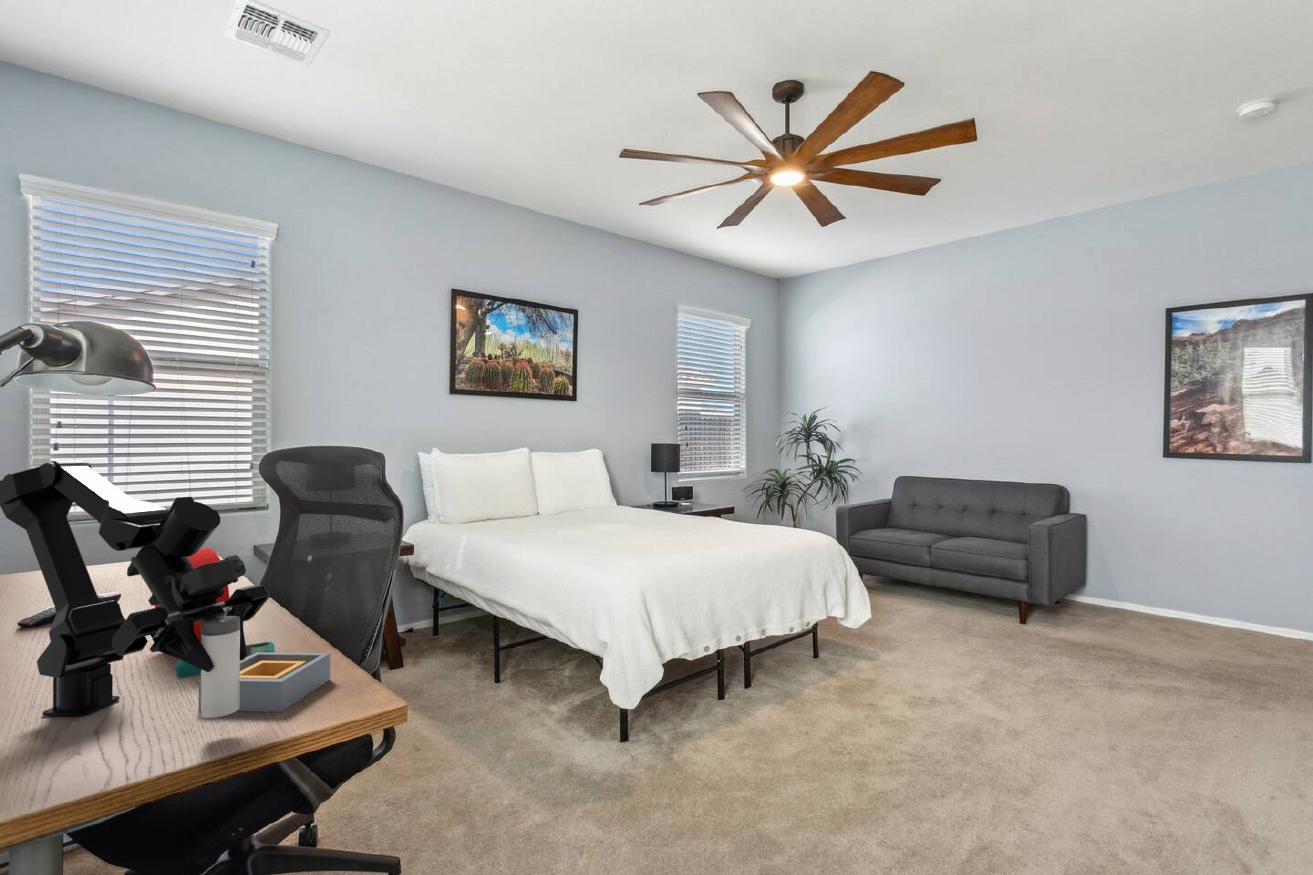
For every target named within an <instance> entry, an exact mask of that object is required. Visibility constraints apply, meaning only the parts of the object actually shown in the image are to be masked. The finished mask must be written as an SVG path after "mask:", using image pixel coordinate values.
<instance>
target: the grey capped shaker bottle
mask: <svg viewBox="0 0 1313 875" xmlns="http://www.w3.org/2000/svg"><path fill="white" fill-rule="evenodd" d="M201 644H202V645H203V647H204V649H205V650H206V652H207V653H208V655H209V656H210V658H211V661H212V663H213V665H214V668H213V669H212V670H211V671H210V672H206V671H204V670H202V669H201V674H200V679H201V710H200V716H201V717H202V718H207V719H212V718H213V719H214V718H219V717H220V718H221V717H224V716H228V715H231V714H233V713H235V712H238V711H237V710H238V709H239V708H240V617H238V616H223V617H216V618H211V619H207V620H205V621H203V622H202V623H201Z"/></svg>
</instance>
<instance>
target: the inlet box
mask: <svg viewBox="0 0 1313 875" xmlns="http://www.w3.org/2000/svg"><path fill="white" fill-rule="evenodd" d="M328 680H329V681H331V653H330V652H328V653H327V652H323V653H322V652H274V653H272V652H256V653H254V654H252V655H250V656H248V657H246V658H245V659H244V660H242V661H240V708H239V709H238V710H237V711H236V712H238V711H239V712H280V713H281V712H284V711H285V710H286V709H288V708H289V707H291V706H293V705H294V704H296V703H297V702H298V701H300V700H302V699H303V698H305V697H306V696H307V695H306V694H308V693H309V694H310V692H311V691H312V690H314V689H315V688H317V687H318V686H320V685H321V684H322V683H324V684H325V682H326V681H328ZM329 681H328V682H329ZM326 683H327V682H326ZM321 686H322V685H321ZM321 686H320V687H321ZM318 688H319V687H318ZM318 688H317V689H318ZM315 690H316V689H315ZM315 690H314V691H315ZM312 692H313V691H312ZM312 692H311V693H312ZM309 694H308V695H309ZM305 695H306V696H305ZM304 696H305V697H304ZM302 697H303V698H302ZM301 698H302V699H301ZM292 704H293V705H292ZM197 709H198V711H201V678H200V679H199V680H198V708H197Z"/></svg>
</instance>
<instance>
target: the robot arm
mask: <svg viewBox="0 0 1313 875" xmlns="http://www.w3.org/2000/svg"><path fill="white" fill-rule="evenodd" d="M73 504H75V505H76V506H78V507H79V508H80V509H82V510H83V511H84V512H85V513H87V514H88V515H90V516H91V517H92V518H94V519H95V520H96V521H97V523H99V528H98V534H99V536H100V537H101V538H102V539H103V540H104V542H105V543H106V544H107V545H108V546H109V547H110V548H111V549H112V550H114V551H117V552H122V551H123V552H124V551H128V550H129V551H130V550H136V549H137V550H138V549H139V551H138V552H137V553H136V555H135V556H132V557H131V558H130V564H129V565H128V567H127V571H126V576H127V577H129V578H130V577H135V576H141V578H142V580H143V581H144V583H145V584H146V586H147V588H148V589H149V591H150V593H151V594H152V595H151V596H150V597H149V599H148V600H147V601H148V604H150V606H151V607H153V606H155V605H158V604H159V605H160V607H157V608H155V607H153V608H149V609H145V610H140V611H136V612H131V613H130V614H128V616H127V617H126V619H125V617H124V614H123V613H122V608H121V605H120V604H119V602H117V600H109V601H105V600H103V599H102V598H100V597H99V596H98V594H97V591H96V588H95V586H94V583H93V581H92V579H91V576H90V574H89V571H88V569H87V566H86V563H85V560H84V557H83V555H82V553H81V551H80V550H81V549H80V547H79V545H78V542H77V540H76V537H75V535H74V532H73V530H72V529H73V528H72V526H71V523H70V522H69V519H68V515H69V513H70V511H71V508H72V506H73ZM0 509H1V510H2V512H3V514H4V516H5V517H6V519H7V520H9V521H10V522H12V523H14V524H16V525H17V526H19V527H20V528H22V529H24V530H25V532H26V533H27V537H28V539H29V541H30V544H31V547H32V550H33V552H34V555H35V557H36V561H37V564H38V565H39V568H40V571H41V573H42V576H43V579H44V581H45V584H46V587H47V590H48V592H49V594H50V597H51V601H52V603H53V606H54V608H55V611H56V614H55V617H54V619H53V622H52V625H51V626H50V629H49V632H48V636H49V639H50V640H49V641H50V642H49V644H48V645H47V646H46V648H45V649H44V651H43V652H42V653H41V655H40V656H39V657H38V658H37V661H36V665H37V669H38V673H39V675H40V676H43V677H44V676H46V677H50V678H52V707H51V708H47V709H46V710H43V711H42V713H41V714H42V716H56V717H57V716H58V717H60V716H61V717H81V716H82V717H83V716H85V715H88V714H90V713H92V712H94V711H97V710H99V709H101V708H103V707H105V706H108V705H110V704H112V703H114V702H117V701H119V700H120V699H121V698H120V696H119V695H113V683H114V682H113V681H114V680H113V678H114V677H113V674H112V673H111V672H112V670H111V669H112V664H111V663H115V662H117V661H118V662H119V661H123V660H124V656H127V655H130V654H134V653H137V652H141V651H143V650H144V649H145V647H146V645H147V644H148V641H149V640H148V638H146V637H148V636H150V637H151V639H152V641H153V644H152V645H151V646H150V647H149V651H150V652H151V653H157V652H159V653H162V654H164V655H167V656H169V655H170V656H172V657H175V658H178V659H177V660H179V659H180V660H182V661H185V662H187V663H189V664H191V665H193V666H195V667H197V668H200V669H202V670H204V671H206V672H210V671H211V670H212V669H213V668H214V665H213V663H212V661H211V658H210V656H209V655H208V653H207V652H206V650H205V649H204V647H203V645H202V644H201V642H200V641H199V639H198V637H197V636H196V635H195V632H194V623H198V622H202V621H205V620H207V619H211V618H216V617H223V616H238V617H240V661H242V660H244V659H245V658H246V657H247V651H246V645H247V644H246V639H245V638H246V637H245V631H244V622H247V621H250V620H251V619H253V618H254V617H255V616H256V615H257V613H258V612H259V611H260V610H261V608H262V607H263V606H264V605H265V604H266V603H267V601H268V600H269V598H270V597H271V594H270V592H269V591H268V590H267V589H266V587H265V586H264V585H263V584H253V585H249V586H245V587H239V588H236V589H235V591H233V593H232V594H231V595H230V596H229V599H228V600H227V601H225V602H220V603H217V601H216V599H217V598H219V597H221V596H222V595H223V594H224V592H225V591H224V590H223V587H225V586H227V585H228V586H229V585H231V584H235V583H237V582H239V578H240V577H242V576H245V574H246V573H247V572H246V571H247V568H246V566H245V562H244V561H243V560H242V559H241V558H240V557H239V556H238V554H237V555H236V554H235V555H230V556H226V557H225V558H224V559H220V561H219V562H215V563H209V564H205V565H202V566H199V567H197V568H195V567H194V566H193V564H192V563H191V561H190V560H189V558H188V557H187V556H192V555H195V554H196V553H198V552H199V550H200V549H201V548H203V547H204V545H205V544H206V543H207V541H208V540H209V538H211V536H212V535H213V533H214V532H215V531H216V529H217V528H218V526H219V525H220V524H221V521H222V520H221V516H220V514H219V512H218V511H217V510H216V509H214V508H212V507H210V506H209V505H207V504H205V503H202V502H199V501H195V500H194V498H193V497H192V496H177V497H176V498H175V499H174V501H173V502H172V504H171V506H170V508H169V510H168V509H167V508H165V507H163V506H161V505H159V504H156V503H154V502H150V501H146V500H142V499H141V500H140V499H136V498H132V497H131V496H129V495H128V494H127V493H125V492H124V491H122V490H121V489H120V488H118V487H117V486H115V485H114V484H113V483H111V482H110V481H108V479H106V478H105V477H103V476H101V474H99V473H98V472H96V471H95V470H94V469H93V468H92V466H91V464H90V463H89V462H87V461H84V460H81V459H80V460H79V459H78V460H77V459H76V460H75V459H73V460H50V461H49V462H44V463H43V464H41V465H38V466H37V467H33V468H30V469H25V470H21V471H18V472H14V473H8V474H6V475H4V477H3V478H2V479H1V480H0ZM170 656H169V657H170ZM172 657H171V658H172Z"/></svg>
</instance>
